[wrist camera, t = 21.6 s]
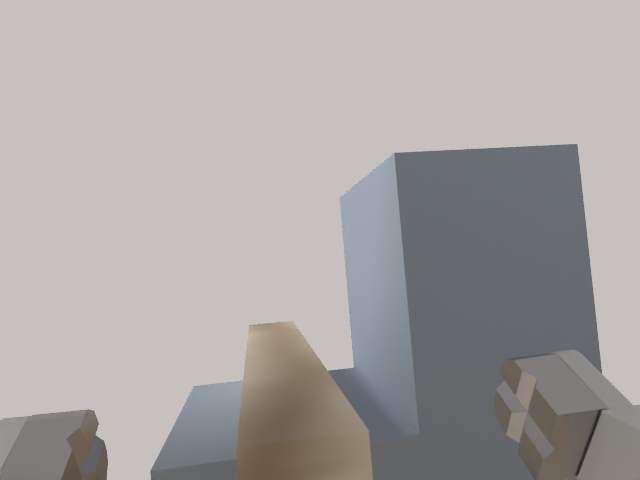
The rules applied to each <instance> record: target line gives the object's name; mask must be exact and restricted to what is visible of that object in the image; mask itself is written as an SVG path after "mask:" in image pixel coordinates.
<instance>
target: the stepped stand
mask: <svg viewBox="0 0 640 480" xmlns="http://www.w3.org/2000/svg"><path fill="white" fill-rule="evenodd" d="M583 203H584V202H583V193H582V184H581V174H580V165H579V156H578V147H577V144H569V145H548V146H528V147H507V148H488V149H467V150H446V151H425V152H404V153H394V154H392V155H391V156H390V157H389V158H388V159H386V160H385V161H384V162H383V163H382V164H380V165H379V166H378V167H376V169H374V170H373V171H372V172H370V173H369V174H368V175H367V176H366V177H364V178H363V179H362V180H361V181H359V182H358V183H357V184H356V185H355V186H353V187H352V188H351V189H350V190H349V191H347V192H346V193H345V194H344V195H342V196H341V197H340V205H341V217H342V229H343V240H344V253H345V265H346V277H347V289H348V300H349V313H350V325H351V337H352V349H353V359H354V368H349V369H340V370H331V371H328V372H329V374H330V375H331V377H332V378H333V380H334V381H335V382H336V384H337V385H338V387H339V388H340V390H341V391H342V392H343V394H344V395H345V397H346V398H347V400H348V401H349V403H350V404H351V405H352V407H353V408H354V410H355V411H356V413H357V414H358V416H359V417H360V418H361V420H362V421H363V423H364V424H365V426H366V427H367V428H368V430H369V439H370V451H371V463H372V475H373V480H535V479H534V478H533V476H532V475H531V473H530V472H529V470H528V468H527V467H526V465H525V464H524V462H523V461H522V459H521V458H520V456H519V454H518V448H519V443H518V442H517V441H515V440H513V439H512V438H510V437H509V436H507V435H506V434H505V432H504V431H503V429H502V427H501V426H500V424H499V421H498V419H497V416H496V412H495V405H494V398H495V392H496V389H497V388H498V387H499V386H500V385H501V383H502V382H503V381H504V379H503V377H502V376H501V374H500V369H501V365H502V363H503V362H504V360H505V359H506V358H513V357H521V356H528V355H536V354H543V353H551V352H558V351H565V350H572V349H574V350H576V351H578V352H580V353H581V354H582V355H583V356H584V357H585V358H586V359H587V360H588V361H589V362H590V363H591V364H592V365H593V366H594V367H595V368H596V369H597V370H598V371H599V372H600V373H601V374H602V369H601V360H600V351H599V341H598V332H597V323H596V314H595V304H594V295H593V286H592V277H591V268H590V258H589V249H588V240H587V230H586V221H585V212H584V204H583ZM242 388H243V381H236V382H227V383H218V384H210V385H200V386H194V387H193V389H192V391H191V393H190V395H189V397H188V399H187V401H186V403H185V405H184V407H183V409H182V411H181V413H180V415H179V416H178V419H177V420H176V422H175V424H174V426H173V428H172V431H171V432H170V434H169V436H168V438H167V440H166V442H165V444H164V446H163V448H162V450H161V452H160V454H159V456H158V457H157V459H156V461H155V463H154V465H153V467H152V469H151V480H238V467H237V453H236V445H237V435H238V426H239V416H240V407H241V397H242ZM559 480H577V477H574V478H567V479H559Z"/></svg>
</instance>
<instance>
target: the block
mask: <svg viewBox="0 0 640 480" xmlns="http://www.w3.org/2000/svg"><path fill="white" fill-rule="evenodd" d="M236 453H237V467H238V480H373V475H372V463H371V451H370V439H369V430H368V428H367V427H366V426H365V424H364V423H363V421H362V420H361V418H360V417H359V416H358V414H357V413H356V411H355V410H354V408H353V407H352V405H351V404H350V403H349V401H348V400H347V398H346V397H345V395H344V394H343V392H342V391H341V390H340V388H339V387H338V385H337V384H336V382H335V381H334V380H333V378H332V377H331V375H330V374H329V372H328V371H327V370H326V368H325V367H324V365H323V364H322V362H321V361H320V359H319V358H318V357H317V355H316V354H315V352H314V351H313V349H312V348H311V346H310V345H309V344H308V342H307V341H306V339H305V338H304V337H303V335H302V334H301V332H300V331H299V329H298V328H297V326H296V325H295V324H294V322H293V321H287V322H277V323H267V324H257V325H249V332H248V341H247V350H246V360H245V370H244V379H243V388H242V397H241V407H240V416H239V426H238V435H237V445H236Z"/></svg>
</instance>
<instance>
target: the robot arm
mask: <svg viewBox="0 0 640 480" xmlns="http://www.w3.org/2000/svg"><path fill="white" fill-rule="evenodd" d="M500 374H501V376H502V377H503V379H504V381H503V382H502V383H501V385H500V386H499V387H498V388H497V389H496V392H495V398H494V405H495V412H496V416H497V419H498V421H499V424H500V426H501V427H502V429H503V431H504V432H505V434H506V435H507V436H509V437H510V438H512V439H513V440H515V441H517V442H518V443H519V448H518V454H519V456H520V458H521V459H522V461H523V462H524V464H525V465H526V467H527V468H528V470H529V472H530V473H531V475H532V476H533V478H534V479H535V480H559V479H567V478H574V477H577V480H640V405H635V406H633V405H632V404H631V403H630V402H629V401H628V400H627V399H626V398H625V397H624V396H623V395H622V394H621V393H620V392H619V391H618V390H617V389H616V388H615V387H614V386H613V385H612V384H611V383H610V382H609V381H608V380H607V379H606V378H605V377H604V376H603V375H602V374H601V373H600V372H599V371H598V370H597V369H596V368H595V367H594V366H593V365H592V364H591V363H590V362H589V361H588V360H587V359H586V358H585V357H584V356H583V355H582V354H581V353H580V352H578V351H576V350H574V349H572V350H565V351H558V352H551V353H543V354H536V355H528V356H521V357H513V358H506V359H505V360H504V362H503V363H502V365H501V369H500ZM98 425H99V423H98V421H97V418H96V415H95V412H94V411H92V410H80V411H70V412H60V413H50V414H40V415H32V416H27V417H15V418H4V419H2V420H0V480H106V479H107V466H108V459H107V451H106V447H105V443H104V441H103V440H102V439H100V438H99V437H97V436H96V435H95V434H96V431H97V428H98Z"/></svg>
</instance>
